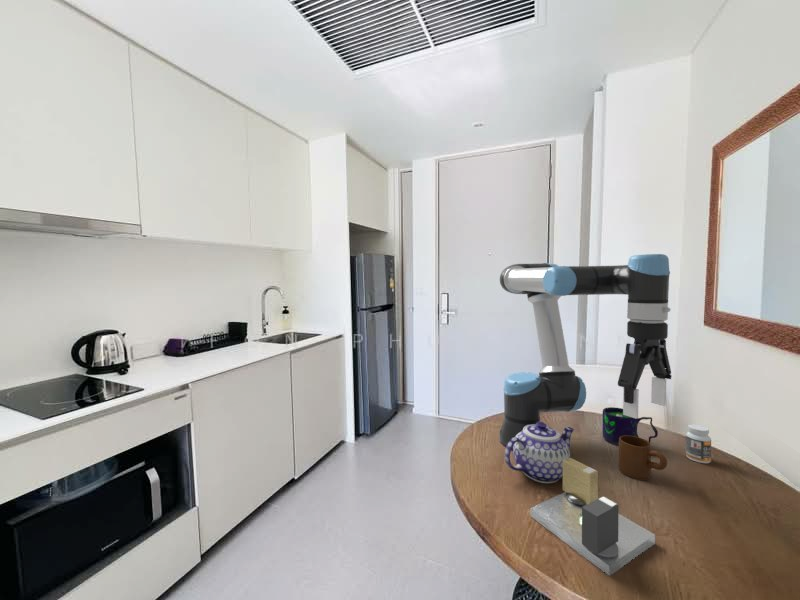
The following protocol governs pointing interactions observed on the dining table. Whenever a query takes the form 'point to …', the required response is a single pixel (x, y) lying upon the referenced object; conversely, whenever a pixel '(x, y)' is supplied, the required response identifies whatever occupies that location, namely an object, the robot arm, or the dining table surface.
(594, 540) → the dark grey block
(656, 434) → the mug
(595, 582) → the dining table surface
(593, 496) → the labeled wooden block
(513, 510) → the dining table surface
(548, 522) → the plate
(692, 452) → the pill bottle
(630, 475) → the mug
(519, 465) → the teapot
